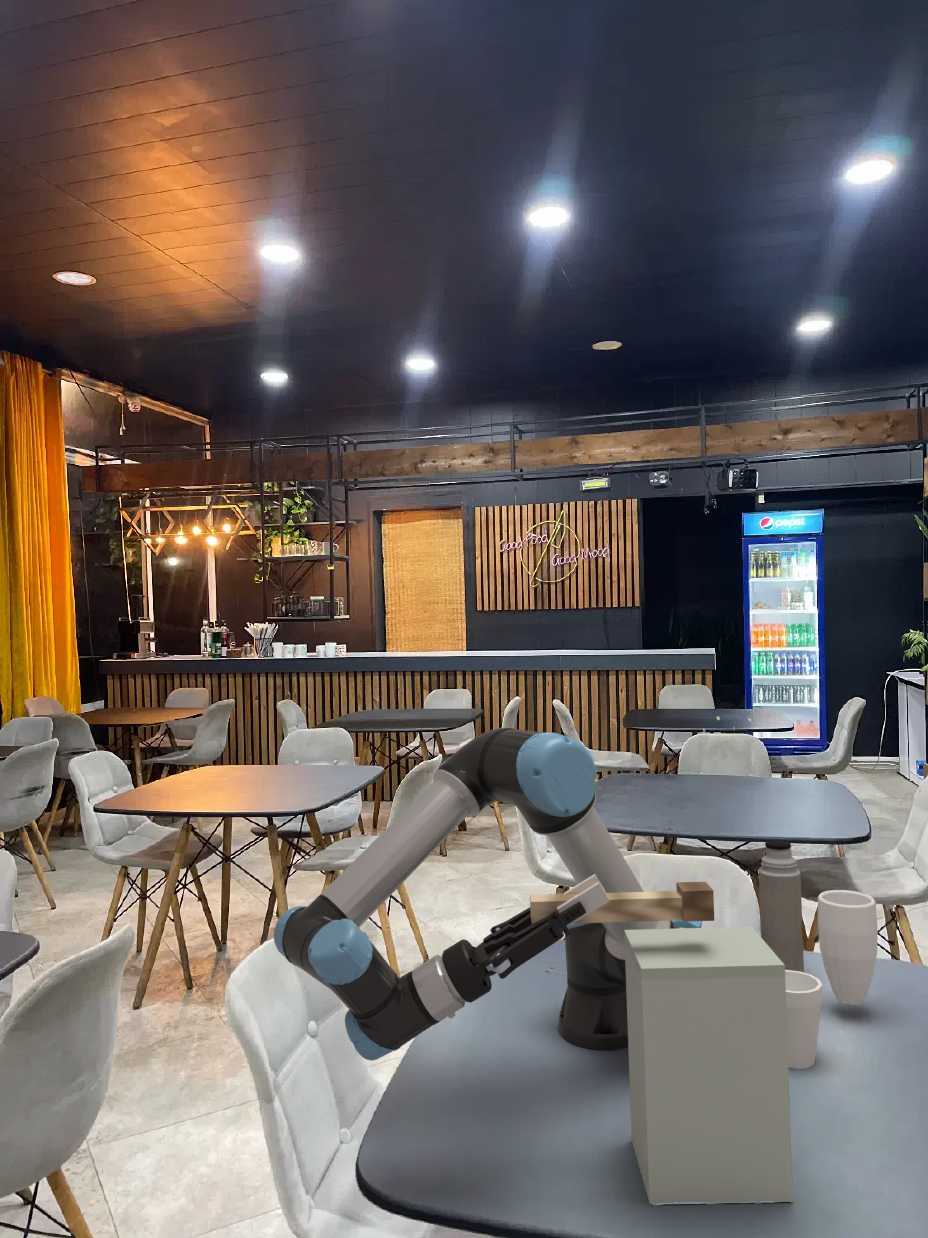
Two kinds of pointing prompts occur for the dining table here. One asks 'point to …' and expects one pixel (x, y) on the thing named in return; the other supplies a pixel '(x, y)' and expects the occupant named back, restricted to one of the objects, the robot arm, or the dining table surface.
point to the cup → (848, 942)
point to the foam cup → (802, 1017)
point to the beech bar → (639, 905)
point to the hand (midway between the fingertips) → (601, 887)
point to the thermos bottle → (781, 904)
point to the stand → (708, 1065)
